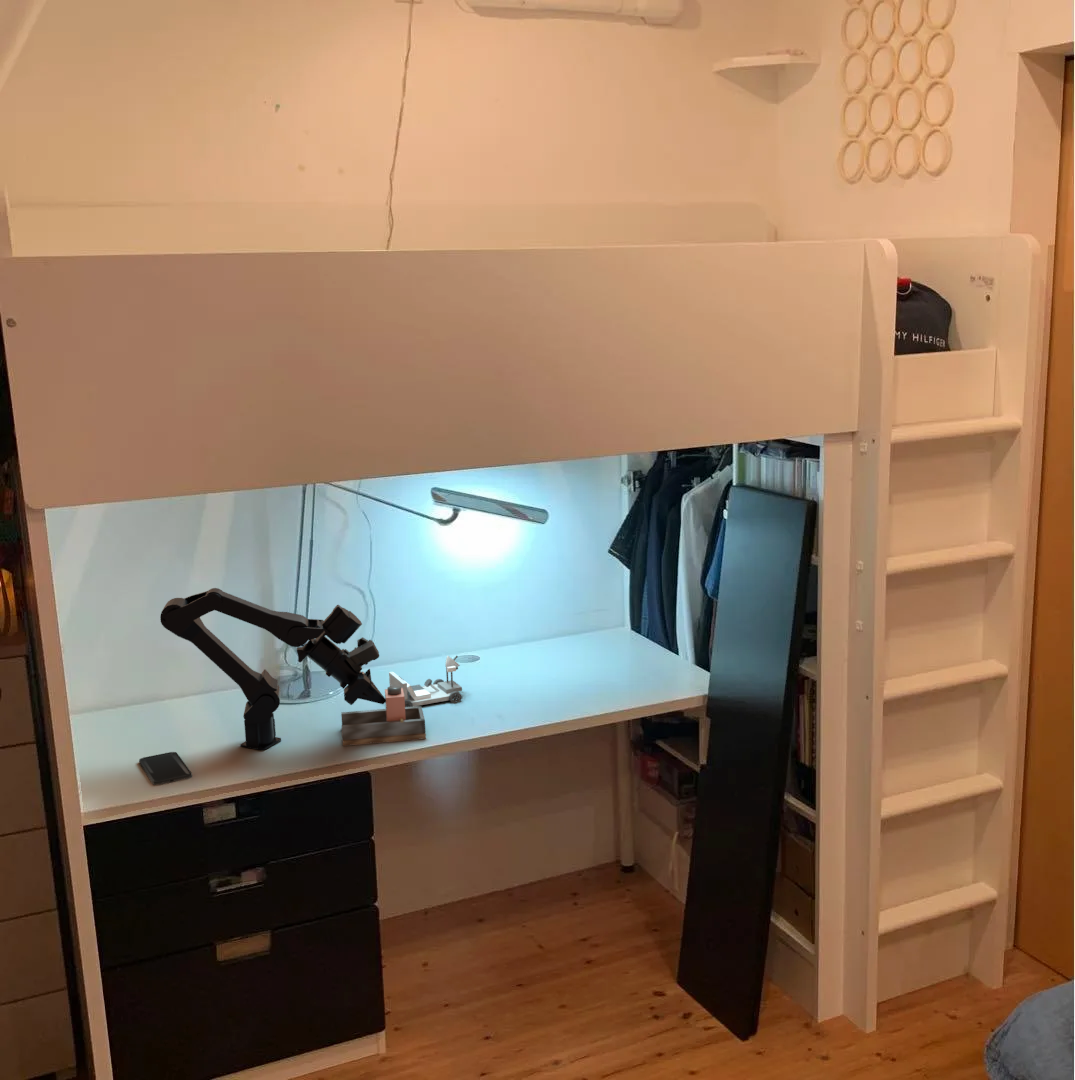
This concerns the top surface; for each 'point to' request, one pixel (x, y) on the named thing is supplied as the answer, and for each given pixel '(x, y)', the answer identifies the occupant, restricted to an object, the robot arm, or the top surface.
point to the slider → (395, 703)
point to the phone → (165, 768)
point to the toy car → (430, 688)
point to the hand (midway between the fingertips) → (384, 702)
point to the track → (381, 726)
